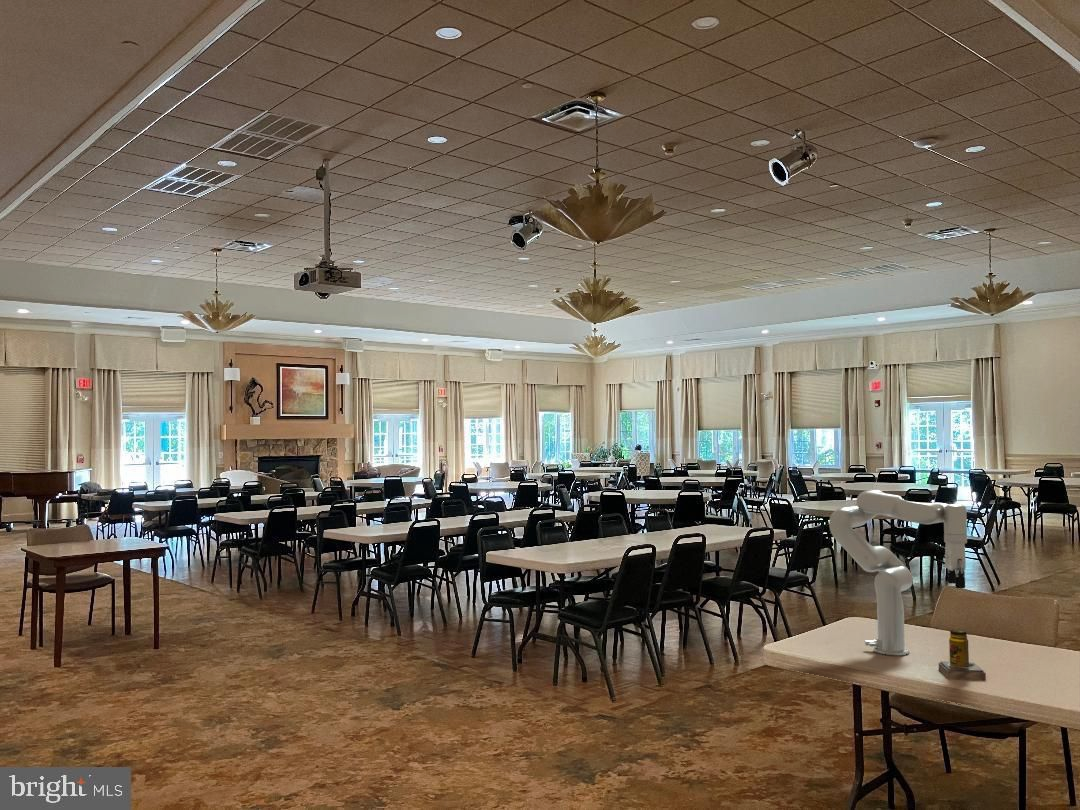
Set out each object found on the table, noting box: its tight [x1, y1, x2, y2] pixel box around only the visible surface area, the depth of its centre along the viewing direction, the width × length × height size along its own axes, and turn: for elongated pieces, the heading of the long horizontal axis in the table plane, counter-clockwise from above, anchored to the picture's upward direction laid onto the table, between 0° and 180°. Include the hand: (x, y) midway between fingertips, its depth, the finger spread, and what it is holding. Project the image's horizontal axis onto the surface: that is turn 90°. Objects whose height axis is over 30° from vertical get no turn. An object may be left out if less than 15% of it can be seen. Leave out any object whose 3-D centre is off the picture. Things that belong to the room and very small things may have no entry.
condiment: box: [946, 629, 976, 669], centre depth 315 cm, size 7×8×12 cm
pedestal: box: [938, 661, 987, 681], centre depth 314 cm, size 12×12×3 cm
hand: (956, 585), depth 329 cm, fingers open, 9 cm apart
